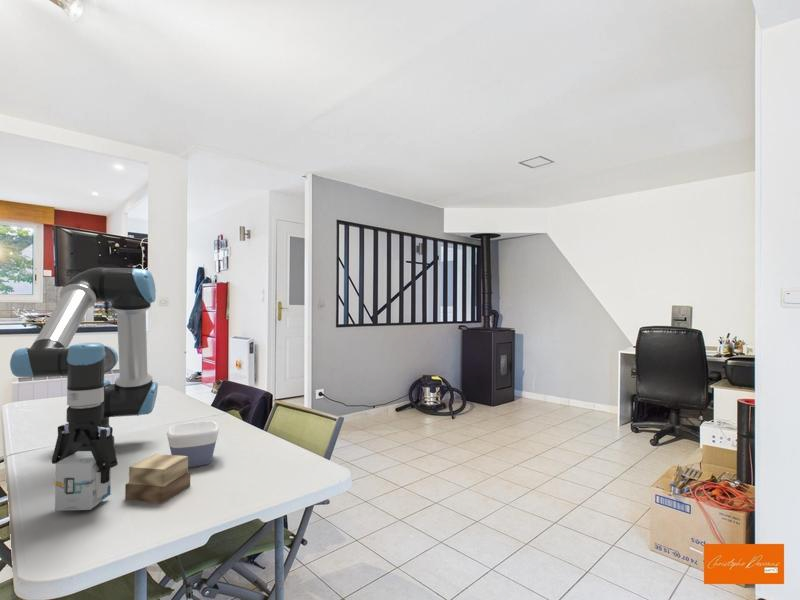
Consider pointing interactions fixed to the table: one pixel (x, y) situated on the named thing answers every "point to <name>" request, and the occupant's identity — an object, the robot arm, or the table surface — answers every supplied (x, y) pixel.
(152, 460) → the tower top
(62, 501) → the ink box
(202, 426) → the bowl
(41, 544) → the table surface
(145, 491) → the tower base
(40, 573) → the table surface
